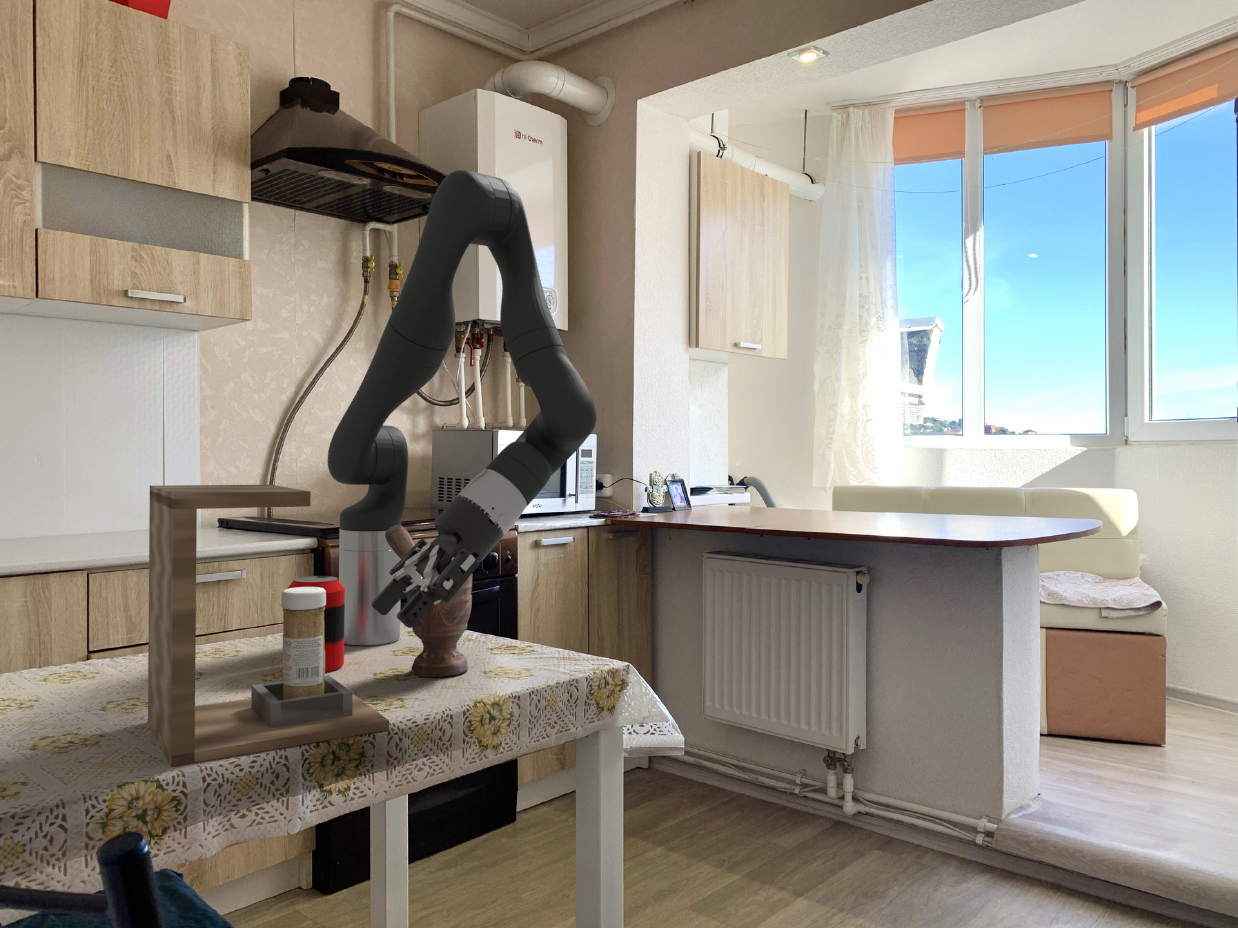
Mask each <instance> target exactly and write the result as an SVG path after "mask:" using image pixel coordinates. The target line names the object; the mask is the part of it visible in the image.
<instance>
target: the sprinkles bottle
mask: <svg viewBox="0 0 1238 928" xmlns="http://www.w3.org/2000/svg"><path fill="white" fill-rule="evenodd" d="M325 605H326V591H325V589H323V588H320V587H296V588H289V589H287V588H286V589H284V590H282V592H281V608H282V612H283V615H282V618H283V619H282V621H283V624H282V625H283V629H282V630H283V633H282V681H283V699H290V698H298V697H305V696H312V695H319V694H324V679H325V676H326V672H325V651H324V610H325V607H324V606H325Z"/></svg>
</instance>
